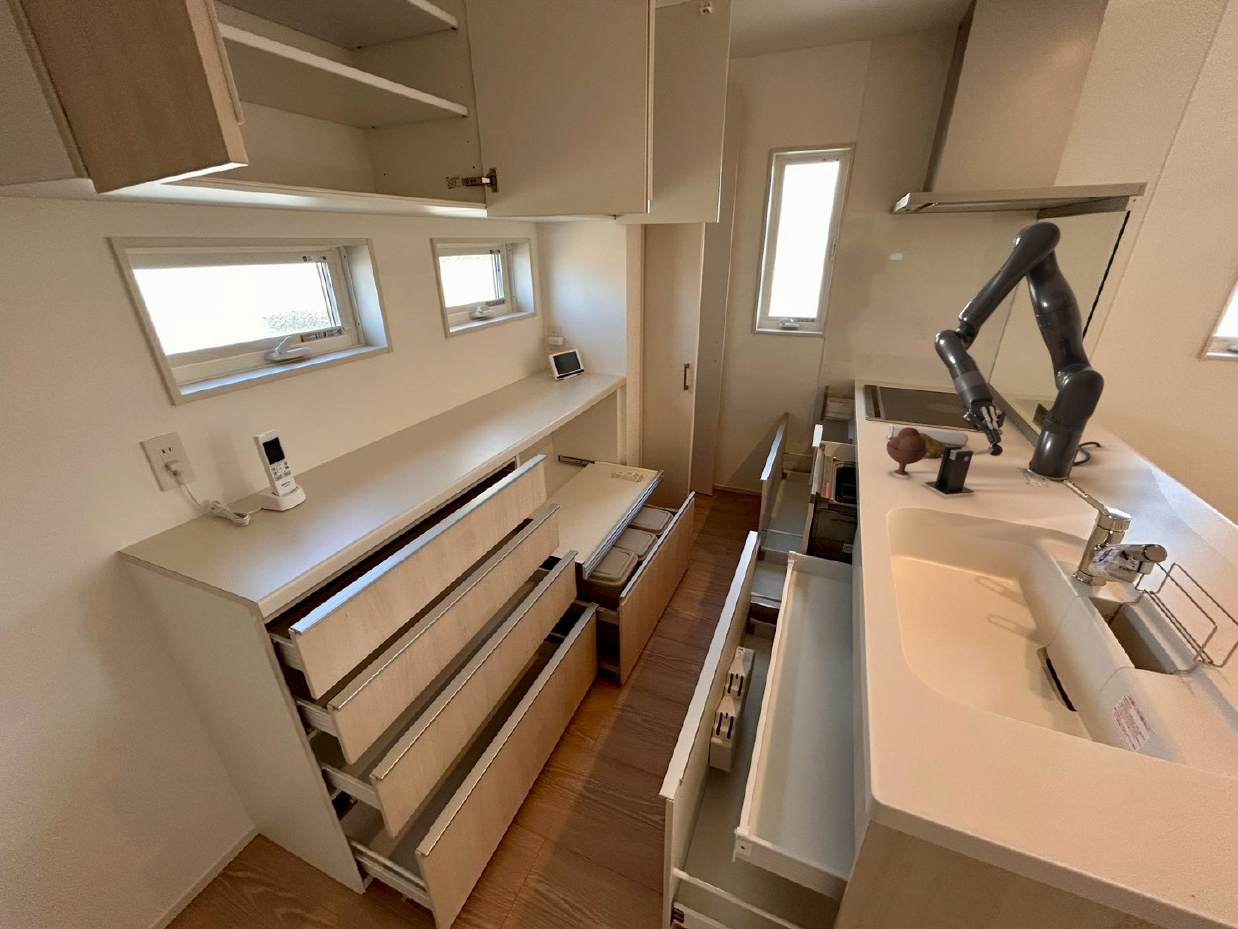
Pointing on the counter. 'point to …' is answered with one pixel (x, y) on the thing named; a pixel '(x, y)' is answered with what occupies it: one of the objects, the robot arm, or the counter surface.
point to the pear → (933, 446)
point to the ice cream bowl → (906, 448)
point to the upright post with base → (953, 472)
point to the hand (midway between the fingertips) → (996, 443)
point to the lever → (982, 451)
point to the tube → (935, 435)
